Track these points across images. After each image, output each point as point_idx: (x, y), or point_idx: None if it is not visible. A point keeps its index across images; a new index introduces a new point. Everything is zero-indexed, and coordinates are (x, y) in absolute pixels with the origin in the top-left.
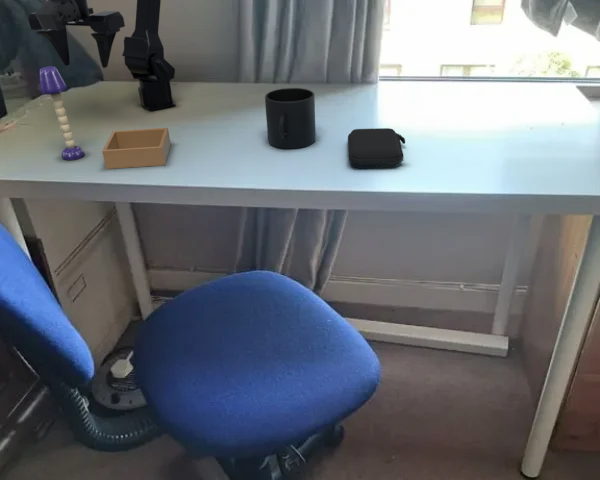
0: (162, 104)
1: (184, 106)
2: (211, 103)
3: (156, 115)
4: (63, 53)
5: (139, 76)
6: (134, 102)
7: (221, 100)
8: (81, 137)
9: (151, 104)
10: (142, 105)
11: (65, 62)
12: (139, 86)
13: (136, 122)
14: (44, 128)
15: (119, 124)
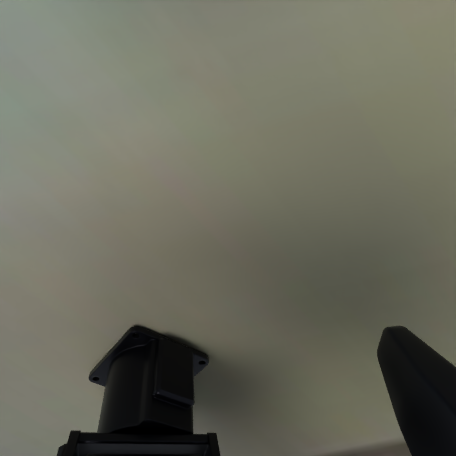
0: (112, 363)
1: (66, 380)
2: (10, 413)
3: (85, 306)
4: (446, 432)
5: (186, 445)
6: (248, 363)
7: (4, 432)
8: (193, 9)
9: (142, 352)
10: (196, 350)
11: (399, 347)
12: (188, 406)
13: (97, 238)
14: (445, 69)
15: (145, 203)
